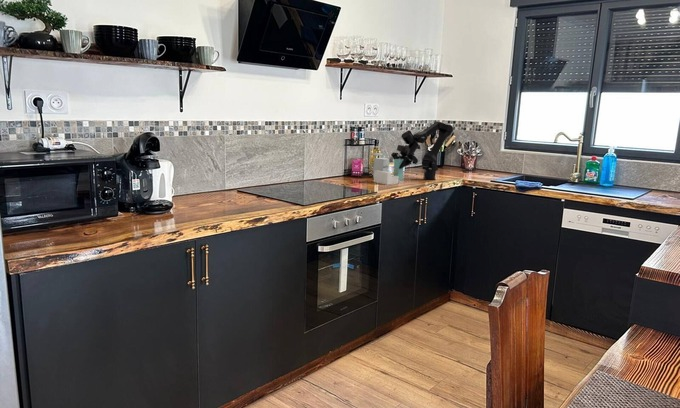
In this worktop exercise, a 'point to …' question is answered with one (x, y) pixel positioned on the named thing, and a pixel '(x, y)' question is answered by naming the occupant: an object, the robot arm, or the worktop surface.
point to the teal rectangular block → (396, 167)
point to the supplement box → (381, 164)
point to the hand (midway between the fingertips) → (396, 168)
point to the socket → (385, 177)
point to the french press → (375, 155)
